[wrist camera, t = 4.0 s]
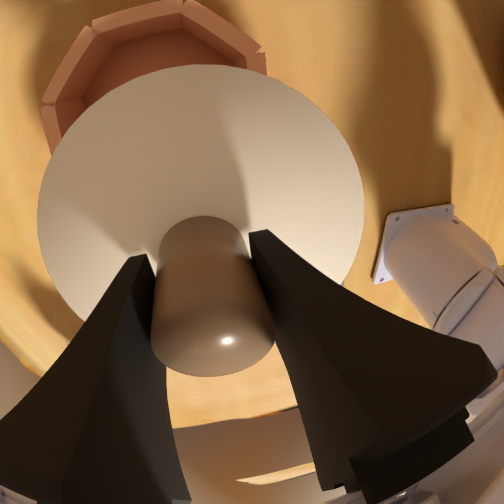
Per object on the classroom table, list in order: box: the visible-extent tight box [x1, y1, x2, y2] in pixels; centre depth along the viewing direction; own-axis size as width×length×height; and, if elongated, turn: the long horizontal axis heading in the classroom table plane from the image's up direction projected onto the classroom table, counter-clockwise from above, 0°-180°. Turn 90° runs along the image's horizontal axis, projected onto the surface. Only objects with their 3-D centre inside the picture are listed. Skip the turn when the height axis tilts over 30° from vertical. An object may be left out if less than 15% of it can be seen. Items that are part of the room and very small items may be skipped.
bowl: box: [40, 0, 267, 156], centre depth 11 cm, size 10×10×4 cm
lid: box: [37, 64, 364, 377], centre depth 9 cm, size 13×13×5 cm
